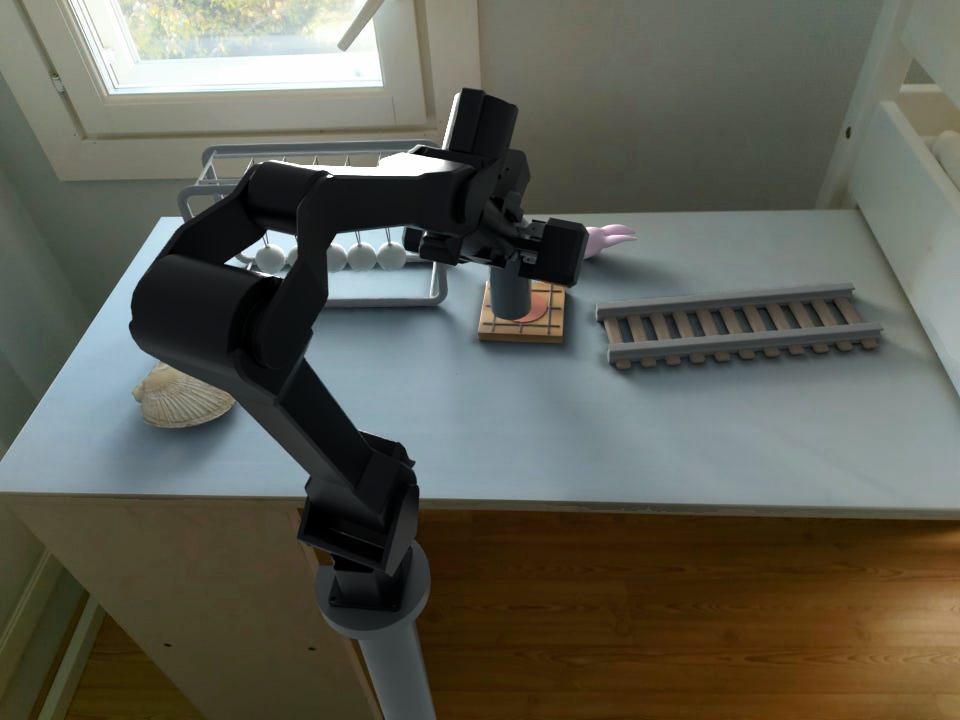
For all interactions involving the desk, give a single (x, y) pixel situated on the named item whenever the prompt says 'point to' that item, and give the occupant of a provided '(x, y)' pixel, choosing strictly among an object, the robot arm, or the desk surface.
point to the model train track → (735, 325)
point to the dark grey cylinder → (510, 289)
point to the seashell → (179, 399)
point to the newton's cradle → (358, 255)
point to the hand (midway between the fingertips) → (514, 254)
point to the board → (527, 318)
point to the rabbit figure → (606, 238)
